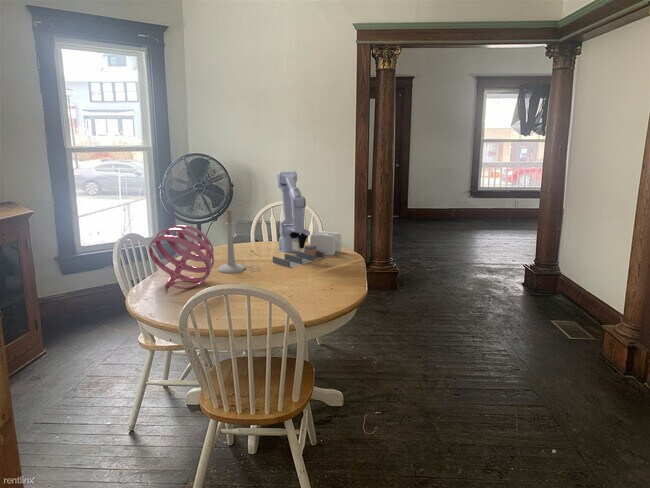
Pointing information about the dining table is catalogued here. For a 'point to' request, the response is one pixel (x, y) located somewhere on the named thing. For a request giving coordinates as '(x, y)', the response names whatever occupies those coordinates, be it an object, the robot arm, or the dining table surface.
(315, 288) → the dining table surface
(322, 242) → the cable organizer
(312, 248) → the brown and grey box
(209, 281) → the dining table surface
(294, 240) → the grey rectangular block
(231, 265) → the candlestick
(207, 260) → the spiral basket
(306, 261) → the grey tiered rack
